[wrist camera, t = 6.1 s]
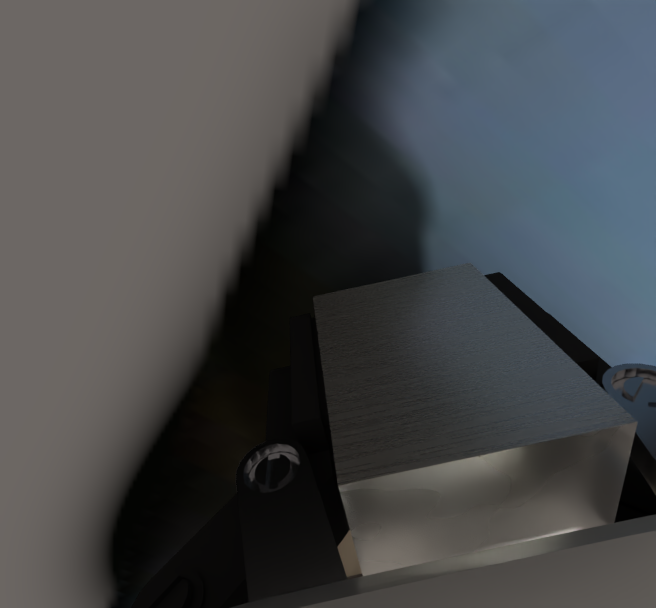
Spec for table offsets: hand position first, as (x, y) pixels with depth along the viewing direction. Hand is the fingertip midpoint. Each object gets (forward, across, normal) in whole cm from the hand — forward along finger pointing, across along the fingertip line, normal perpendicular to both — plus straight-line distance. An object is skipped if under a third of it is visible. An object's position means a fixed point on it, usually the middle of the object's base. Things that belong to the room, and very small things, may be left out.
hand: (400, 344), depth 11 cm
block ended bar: (0, 0, +10) cm, 10 cm away
